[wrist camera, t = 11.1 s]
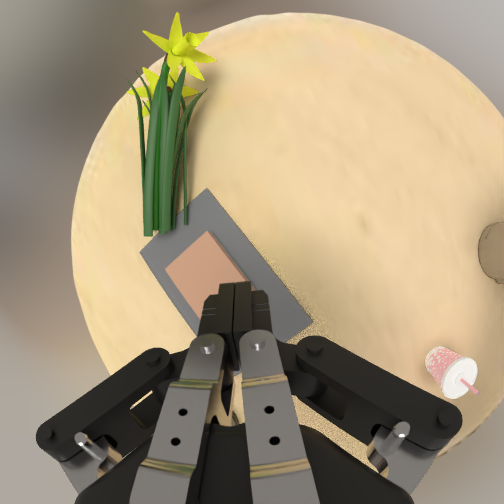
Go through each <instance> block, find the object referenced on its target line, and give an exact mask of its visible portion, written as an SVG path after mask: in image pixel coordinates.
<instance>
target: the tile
mask: <svg viewBox="0 0 504 504" xmlns="http://www.w3.org/2000/svg"><path fill="white" fill-rule="evenodd" d="M165 270H166V272H167V273H168V275H169V276H170V278H171V279H172V281H173V282H174V284H175V285H176V287H177V288H178V289H179V291H180V292H181V294H182V295H183V297H184V298H185V299H186V301H187V302H188V304H189V305H190V306H191V308H192V309H193V310H194V312H195V313H196V315H197V316H198V317H199V319H201V316H202V310H203V305H204V301H205V300H206V299H207V298H208V296H209V295H213V294H218V290H219V284H220V283H231V282H235V284H236V282H242V281H250V280H249V279H248V277H247V276H246V275H245V273H244V272H243V271H242V270H241V268H240V267H239V266H238V264H237V263H236V262H235V261H234V259H233V258H232V257H231V255H230V254H229V253H228V251H227V250H226V249H225V248H224V246H223V245H222V244H221V242H220V241H219V240H218V238H217V237H216V236H215V234H214V233H213V232H209V231H206V232H205V233H204V234H203V235H202V236H201V237H199V238H198V239H197V240H196V241H195V242H194V243H193V244H192V245H191V246H189V247H188V248H187V249H186V250H185V251H184V252H183V253H182V254H181V255H180V256H179V257H177V258H176V259H175V260H174V261H173V262H172V263H171V264H170V265H169V266H168V267H167V268H166V269H165ZM251 283H252V282H251ZM256 290H257V289H256V288H255V286H254V285H253V284H252V291H256Z"/></svg>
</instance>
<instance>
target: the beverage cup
mask: <svg viewBox="0 0 504 504" xmlns="http://www.w3.org/2000/svg"><path fill="white" fill-rule="evenodd" d="M425 366H426V368H427V370H428V371H429V373H430V374H431V375H432V376H433V378H434V379H435V380H436V382H437V383H438V384H439V386H440V387H441V389H442V392H443V394H444V395H445V396H446V397H448V398H449V399H456V398H459V397H461V396H463V395H464V394H465V393H466V392H467V391H469V389H470V390H471V391H472V392H473V393H475V394H476V395H478V394H479V392H478V391H477V390H476V389H475V388H474V387H472V385H473V384H474V382H475V379H476V377H477V369H478V368H477V365H476V362H475V361H473V360H472V359H471V358H469V357H463V356H461V355H459V354H457V353H455V352H453V351H451V350H449V349H447V348H445V347H443V346H438V347H435V348H433V349H432V350H431V351H430V352H429V354H428V355H427V357H426V360H425Z"/></svg>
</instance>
